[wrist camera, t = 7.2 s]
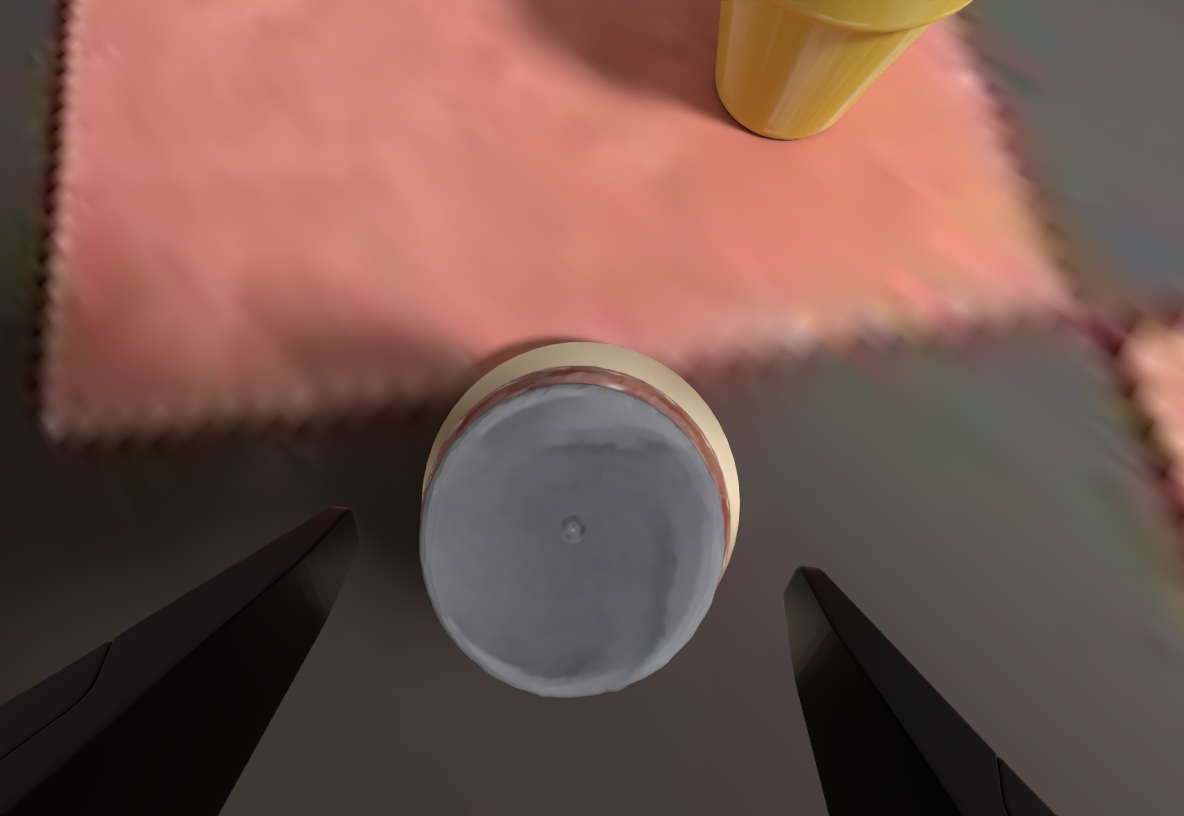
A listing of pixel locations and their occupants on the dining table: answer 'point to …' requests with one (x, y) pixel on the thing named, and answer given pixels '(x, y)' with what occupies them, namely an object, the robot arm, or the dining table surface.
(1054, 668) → the dining table surface
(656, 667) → the supplement bottle
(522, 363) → the coaster
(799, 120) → the plant pot
